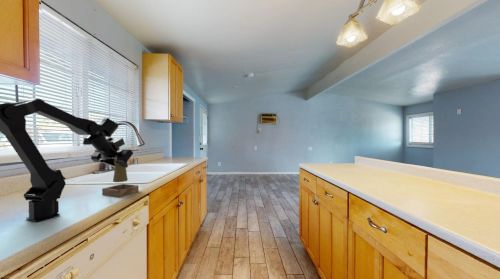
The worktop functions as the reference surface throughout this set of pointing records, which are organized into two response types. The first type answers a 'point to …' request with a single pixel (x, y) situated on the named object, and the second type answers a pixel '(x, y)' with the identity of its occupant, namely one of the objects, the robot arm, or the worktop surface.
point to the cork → (119, 173)
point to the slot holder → (120, 190)
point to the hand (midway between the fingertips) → (122, 166)
